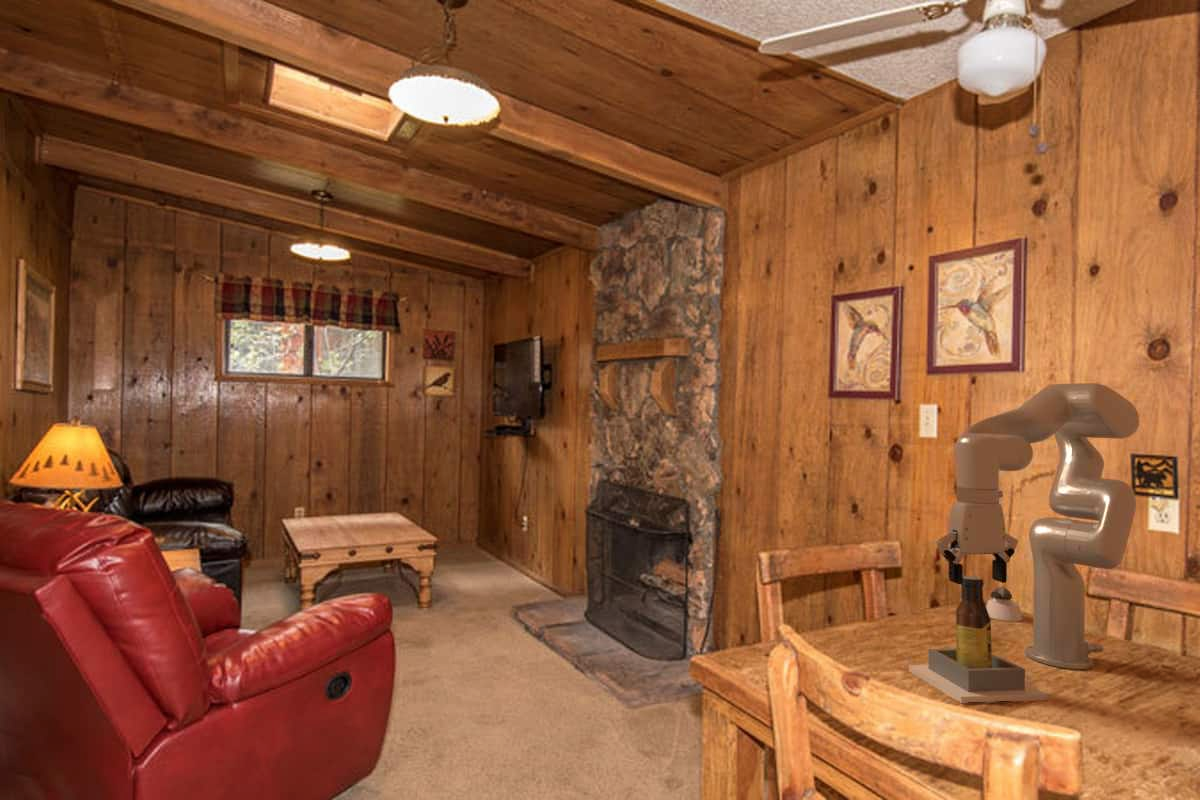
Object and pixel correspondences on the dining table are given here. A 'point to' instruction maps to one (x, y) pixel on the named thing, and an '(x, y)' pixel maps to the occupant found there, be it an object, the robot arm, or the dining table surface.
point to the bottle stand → (976, 679)
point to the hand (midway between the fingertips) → (977, 581)
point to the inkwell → (1003, 606)
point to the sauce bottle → (973, 626)
